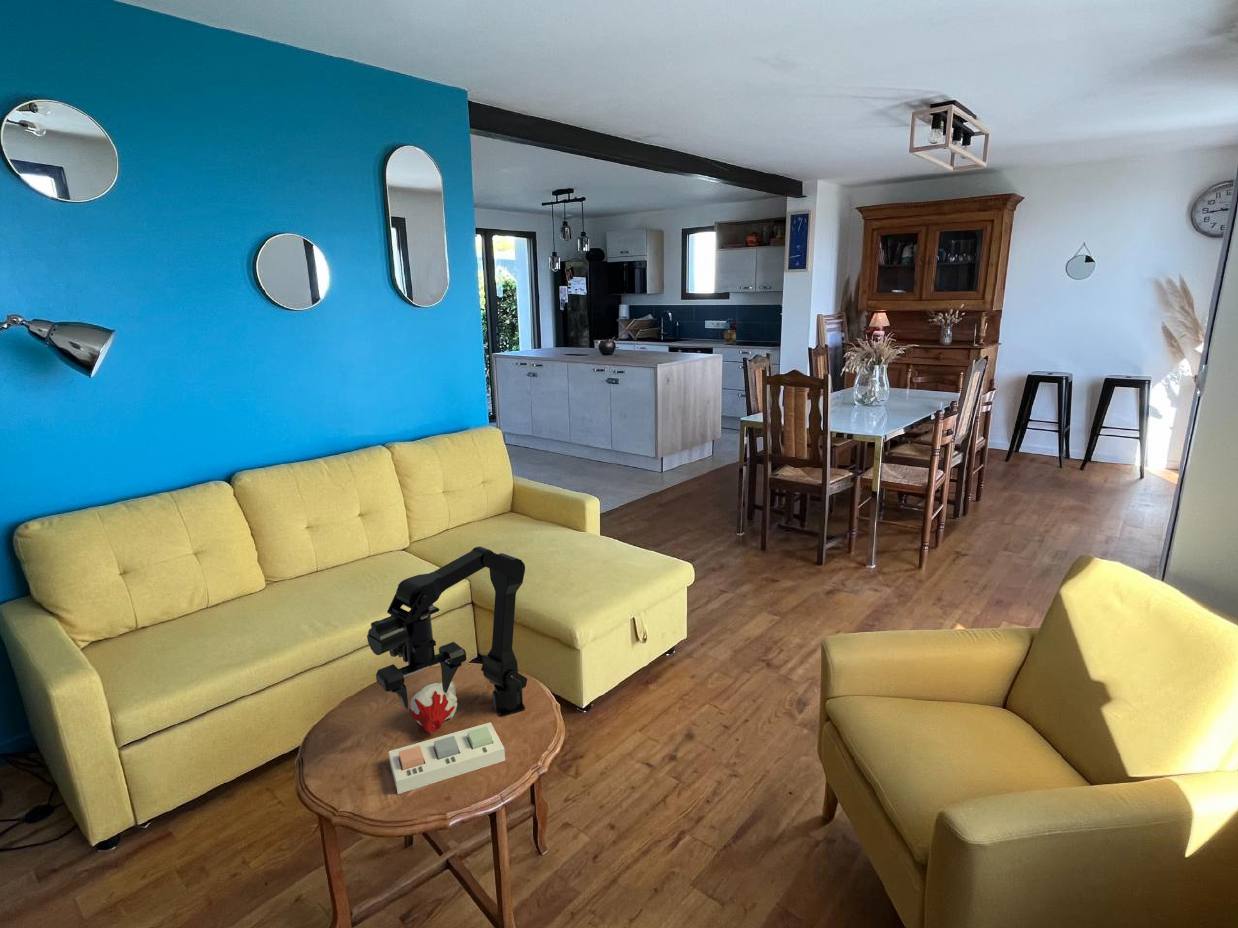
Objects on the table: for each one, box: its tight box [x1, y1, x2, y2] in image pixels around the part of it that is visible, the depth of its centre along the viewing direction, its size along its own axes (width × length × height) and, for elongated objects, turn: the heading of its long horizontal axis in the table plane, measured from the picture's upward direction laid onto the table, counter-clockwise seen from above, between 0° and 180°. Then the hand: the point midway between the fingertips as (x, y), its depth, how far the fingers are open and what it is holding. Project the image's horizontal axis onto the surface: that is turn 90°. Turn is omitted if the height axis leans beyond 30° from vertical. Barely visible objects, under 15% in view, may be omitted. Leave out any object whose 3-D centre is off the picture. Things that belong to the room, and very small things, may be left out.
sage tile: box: [468, 726, 492, 750], centre depth 154 cm, size 4×4×2 cm
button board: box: [388, 722, 506, 795], centre depth 151 cm, size 23×11×3 cm, turn 116°
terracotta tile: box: [399, 746, 424, 770], centre depth 148 cm, size 4×4×2 cm
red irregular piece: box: [408, 680, 458, 734], centre depth 165 cm, size 9×11×15 cm
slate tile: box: [434, 736, 459, 760], centre depth 151 cm, size 4×4×2 cm
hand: (426, 699), depth 152 cm, fingers open, 9 cm apart
